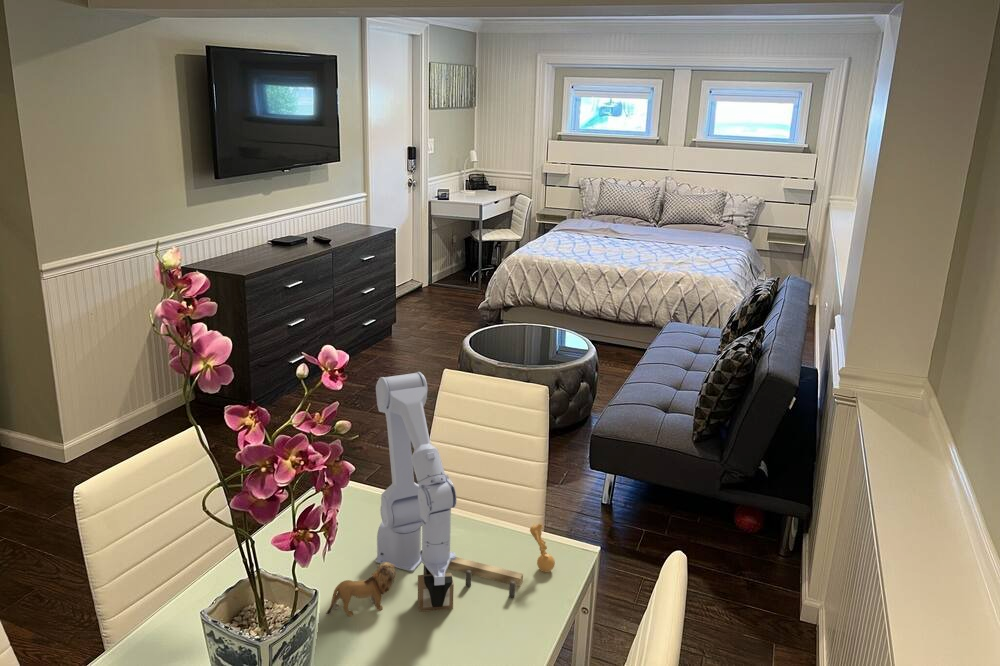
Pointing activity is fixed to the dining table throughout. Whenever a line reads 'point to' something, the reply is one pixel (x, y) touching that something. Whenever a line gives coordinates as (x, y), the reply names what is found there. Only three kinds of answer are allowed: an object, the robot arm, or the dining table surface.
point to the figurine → (542, 550)
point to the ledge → (486, 573)
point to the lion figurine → (365, 588)
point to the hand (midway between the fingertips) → (435, 594)
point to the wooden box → (425, 599)
